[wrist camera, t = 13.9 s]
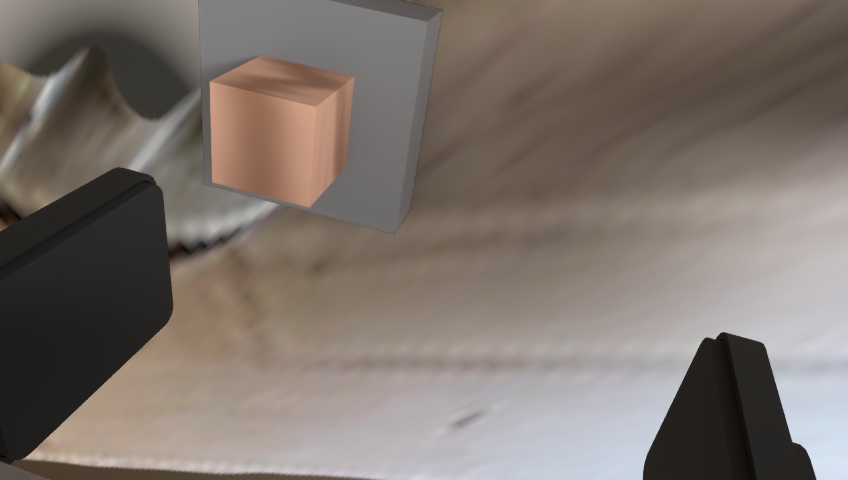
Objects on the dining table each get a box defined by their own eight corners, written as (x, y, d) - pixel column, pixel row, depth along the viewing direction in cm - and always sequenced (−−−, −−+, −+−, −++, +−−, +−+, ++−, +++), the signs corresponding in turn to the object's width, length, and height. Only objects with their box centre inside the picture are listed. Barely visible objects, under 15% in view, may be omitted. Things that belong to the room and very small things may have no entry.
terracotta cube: (354, 76, 38) (316, 107, 33) (345, 167, 41) (309, 207, 36) (261, 55, 38) (209, 81, 33) (259, 145, 42) (212, 182, 36)
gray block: (442, 9, 38) (427, 21, 35) (410, 208, 46) (395, 234, 42) (231, -36, 40) (197, -29, 37) (232, 162, 47) (204, 184, 44)
